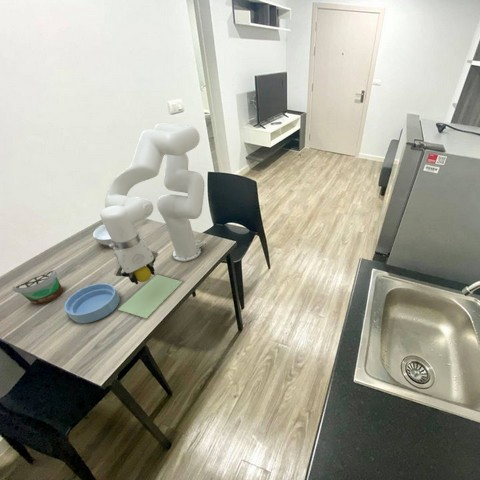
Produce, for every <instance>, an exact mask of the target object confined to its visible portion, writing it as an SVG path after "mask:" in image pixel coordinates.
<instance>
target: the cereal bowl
mask: <svg viewBox="0 0 480 480" xmlns="http://www.w3.org/2000/svg"><path fill="white" fill-rule="evenodd" d="M92 236H93V238H94V240H95V241H96V242H97V243H98V244H100V245H103V246H108V247H109V244H111V243H112V241H111V240H112V239H111V237H110V235H109V233H108V231H107V229H106V227H105V225H104V223H103V224H102V225H99V226H98V227H96V228H95V230H94V231H93V233H92Z"/></svg>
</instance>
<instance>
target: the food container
mask: <svg viewBox="0 0 480 480" xmlns="http://www.w3.org/2000/svg"><path fill="white" fill-rule="evenodd" d="M12 290H13V292H14V293H18V294H21V295H22V296H23V297H25V298H26V300H28V301H29V302H31V303H32V304H33V305H36V306H37V305H38V306H39V305H45V304H48V303H51V302H54V301H55V300H57V299H58V298H60V296H62V294H63V293H64V288H63V286H62V284H61V282H60V281H59V279H58V272H57V271H56V270H55V269H51V271H49V272H46V273H44V274H41V275H38V276H35V277H33V278H31V279H29V280H27V281H26V282H24V283H22V284H19V285H17V286H12Z"/></svg>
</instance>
